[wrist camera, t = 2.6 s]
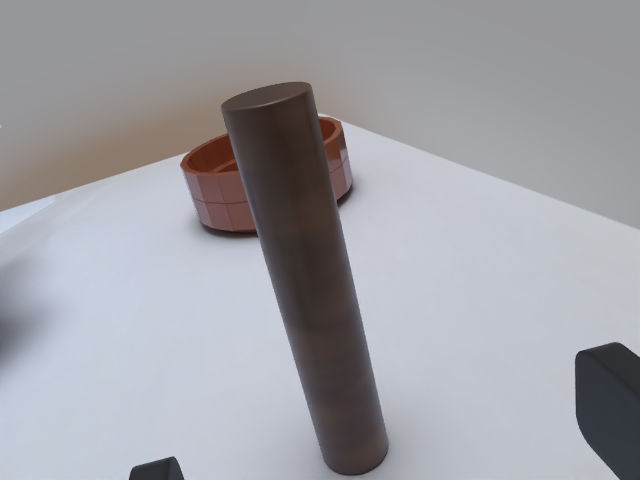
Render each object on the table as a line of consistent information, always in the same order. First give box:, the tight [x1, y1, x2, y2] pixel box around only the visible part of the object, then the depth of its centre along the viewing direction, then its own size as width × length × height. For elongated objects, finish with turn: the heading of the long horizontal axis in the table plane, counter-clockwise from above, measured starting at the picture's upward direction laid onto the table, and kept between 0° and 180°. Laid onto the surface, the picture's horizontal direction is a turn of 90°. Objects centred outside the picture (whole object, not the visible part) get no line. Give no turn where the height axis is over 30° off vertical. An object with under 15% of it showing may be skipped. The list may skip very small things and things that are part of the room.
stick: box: [221, 82, 388, 475], centre depth 21 cm, size 3×3×16 cm
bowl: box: [180, 116, 353, 233], centre depth 52 cm, size 15×15×6 cm
